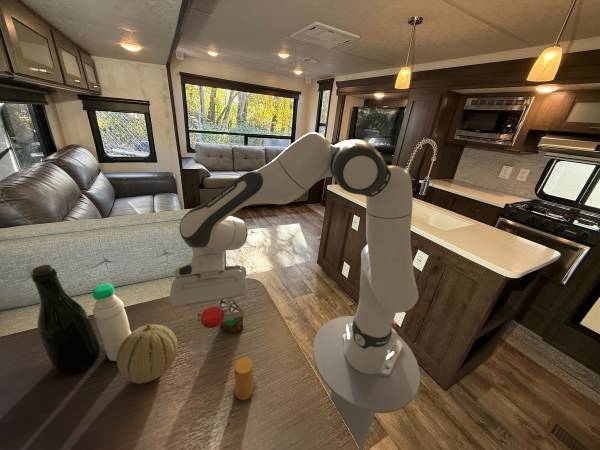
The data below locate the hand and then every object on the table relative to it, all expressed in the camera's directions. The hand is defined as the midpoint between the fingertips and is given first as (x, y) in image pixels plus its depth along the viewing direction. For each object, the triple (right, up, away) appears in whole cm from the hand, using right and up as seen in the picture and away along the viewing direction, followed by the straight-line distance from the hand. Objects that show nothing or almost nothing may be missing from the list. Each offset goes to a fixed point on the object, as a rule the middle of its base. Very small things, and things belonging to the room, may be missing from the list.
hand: (212, 318), depth 67 cm
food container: (-2, -12, +23) cm, 26 cm away
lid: (0, +1, 0) cm, 1 cm away
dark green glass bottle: (-42, -15, +7) cm, 45 cm away
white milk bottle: (-32, -15, +10) cm, 37 cm away
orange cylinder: (+8, -21, +2) cm, 23 cm away
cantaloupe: (-20, -18, +6) cm, 27 cm away
